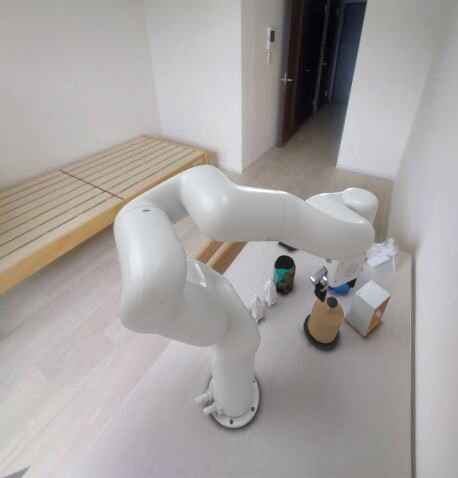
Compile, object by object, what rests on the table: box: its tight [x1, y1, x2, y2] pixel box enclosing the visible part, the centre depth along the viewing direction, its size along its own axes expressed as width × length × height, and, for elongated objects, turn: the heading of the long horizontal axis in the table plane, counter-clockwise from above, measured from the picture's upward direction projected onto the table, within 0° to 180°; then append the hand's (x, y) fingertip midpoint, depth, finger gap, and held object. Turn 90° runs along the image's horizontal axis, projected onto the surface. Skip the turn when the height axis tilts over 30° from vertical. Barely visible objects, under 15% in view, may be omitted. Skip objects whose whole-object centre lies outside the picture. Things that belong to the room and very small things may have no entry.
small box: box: [346, 279, 392, 338], centre depth 79 cm, size 8×6×13 cm
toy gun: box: [278, 241, 297, 252], centre depth 112 cm, size 10×12×5 cm
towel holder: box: [303, 295, 345, 351], centre depth 75 cm, size 10×16×10 cm
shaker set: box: [250, 278, 278, 324], centre depth 85 cm, size 12×4×11 cm, turn 134°
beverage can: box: [272, 254, 297, 295], centre depth 91 cm, size 7×7×12 cm
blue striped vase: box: [324, 274, 351, 296], centre depth 90 cm, size 8×8×16 cm
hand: (333, 290), depth 69 cm, fingers open, 9 cm apart
